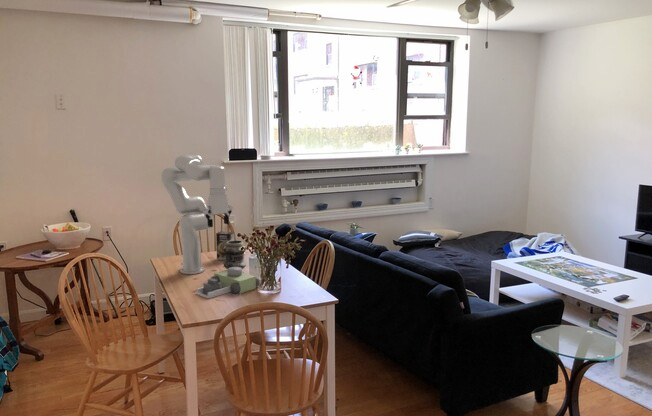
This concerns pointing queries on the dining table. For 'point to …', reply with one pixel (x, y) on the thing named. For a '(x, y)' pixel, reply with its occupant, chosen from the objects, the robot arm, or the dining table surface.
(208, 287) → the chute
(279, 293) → the dining table surface
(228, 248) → the apothecary jar
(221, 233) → the coffee box
